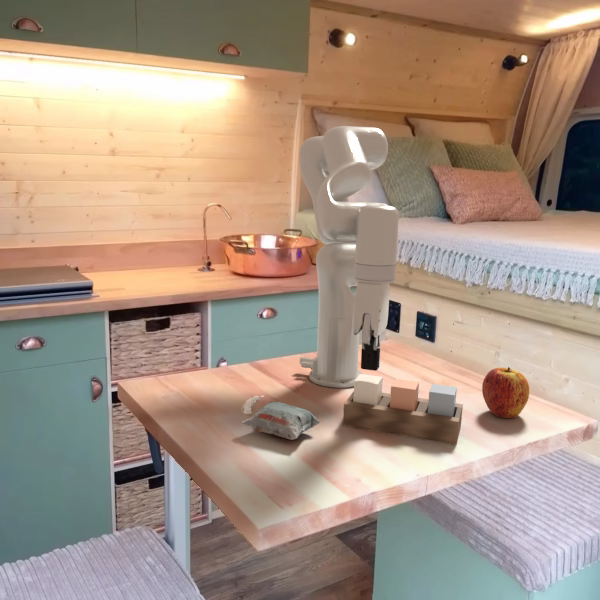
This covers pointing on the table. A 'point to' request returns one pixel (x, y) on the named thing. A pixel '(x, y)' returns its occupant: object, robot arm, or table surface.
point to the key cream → (368, 389)
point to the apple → (505, 392)
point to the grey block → (442, 400)
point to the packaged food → (282, 420)
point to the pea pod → (250, 404)
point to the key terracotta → (404, 394)
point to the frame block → (403, 420)
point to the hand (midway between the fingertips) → (369, 368)
